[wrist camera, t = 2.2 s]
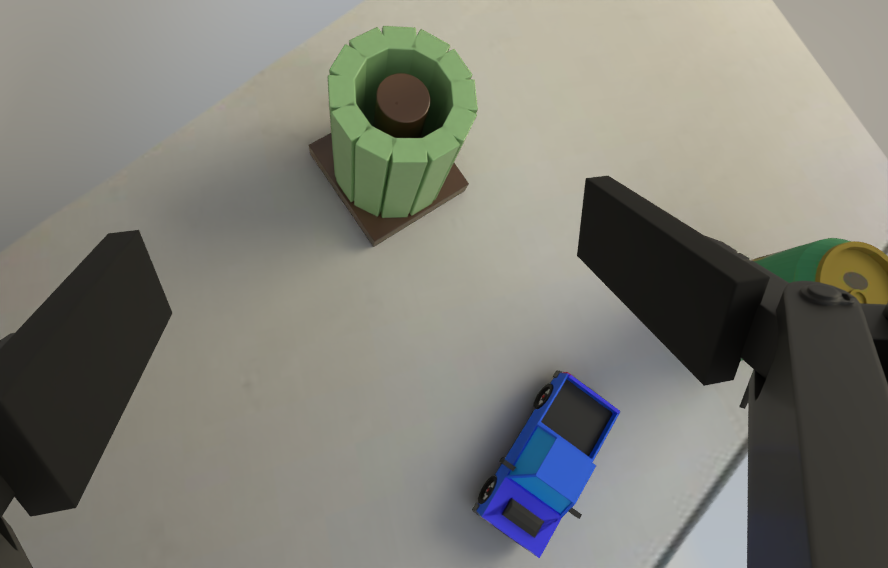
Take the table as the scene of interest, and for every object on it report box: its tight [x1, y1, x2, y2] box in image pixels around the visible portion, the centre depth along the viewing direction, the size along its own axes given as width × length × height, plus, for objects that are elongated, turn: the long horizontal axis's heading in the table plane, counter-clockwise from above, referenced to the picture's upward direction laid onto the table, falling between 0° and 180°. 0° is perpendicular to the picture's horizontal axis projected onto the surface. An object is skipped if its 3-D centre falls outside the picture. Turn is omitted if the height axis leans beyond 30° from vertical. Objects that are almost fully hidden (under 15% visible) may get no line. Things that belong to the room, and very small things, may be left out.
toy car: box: [472, 371, 620, 558], centre depth 35 cm, size 7×12×5 cm, turn 145°
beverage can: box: [741, 238, 888, 360], centre depth 37 cm, size 8×8×12 cm
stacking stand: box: [309, 73, 469, 246], centre depth 34 cm, size 9×9×11 cm
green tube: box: [328, 26, 478, 218], centre depth 33 cm, size 9×9×10 cm
